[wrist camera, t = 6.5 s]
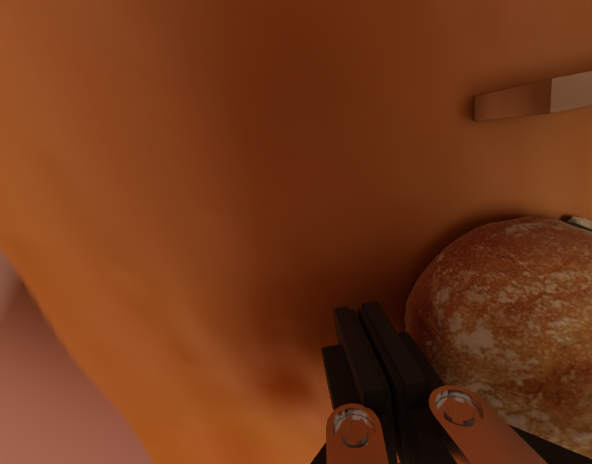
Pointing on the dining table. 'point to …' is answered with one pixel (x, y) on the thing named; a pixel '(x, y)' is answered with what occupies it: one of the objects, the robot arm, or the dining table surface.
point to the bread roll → (515, 323)
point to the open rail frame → (536, 98)
